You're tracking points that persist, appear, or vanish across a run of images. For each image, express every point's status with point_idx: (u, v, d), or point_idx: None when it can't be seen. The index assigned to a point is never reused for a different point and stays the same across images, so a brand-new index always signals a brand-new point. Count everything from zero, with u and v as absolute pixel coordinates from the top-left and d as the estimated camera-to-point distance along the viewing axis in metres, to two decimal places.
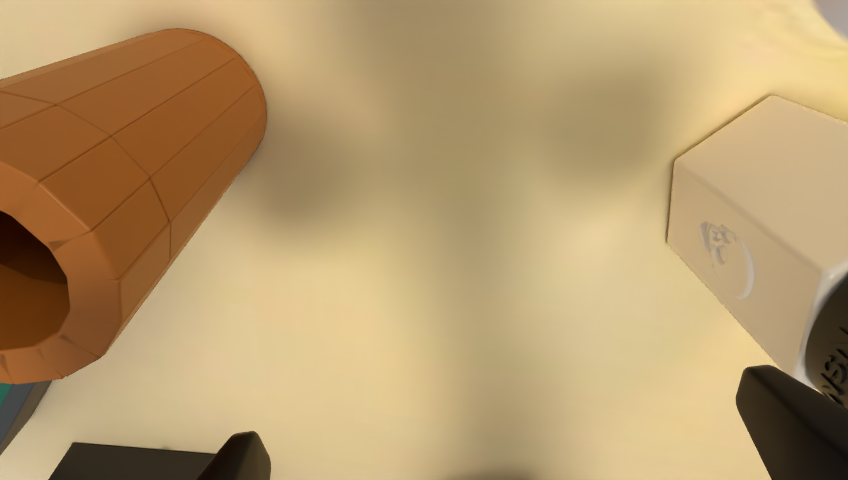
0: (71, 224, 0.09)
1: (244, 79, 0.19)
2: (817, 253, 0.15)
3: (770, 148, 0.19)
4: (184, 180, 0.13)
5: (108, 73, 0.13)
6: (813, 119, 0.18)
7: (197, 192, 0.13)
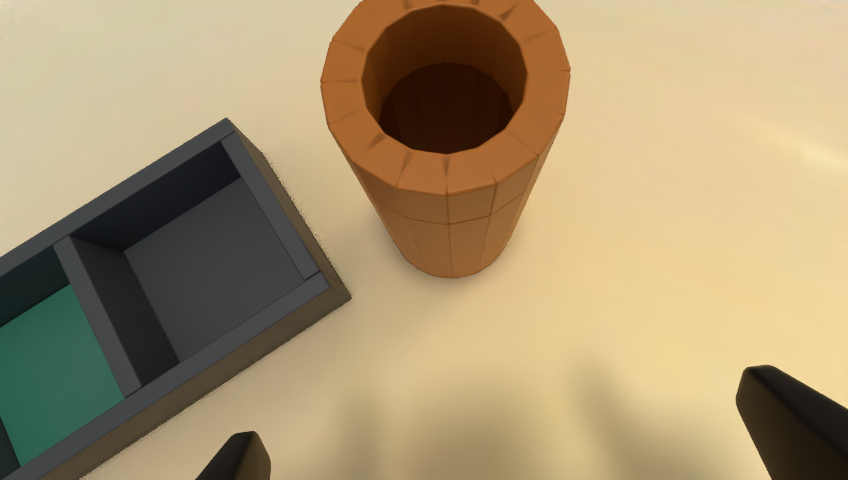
0: (560, 60, 0.11)
1: None
2: None
3: None
4: None
5: None
6: None
7: None
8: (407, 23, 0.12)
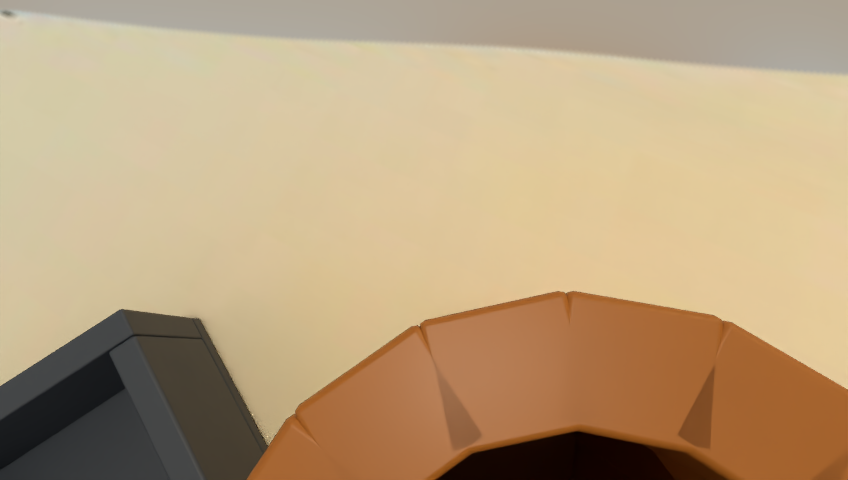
0: None
1: None
2: None
3: None
4: None
5: None
6: None
7: None
8: (454, 446, 0.04)
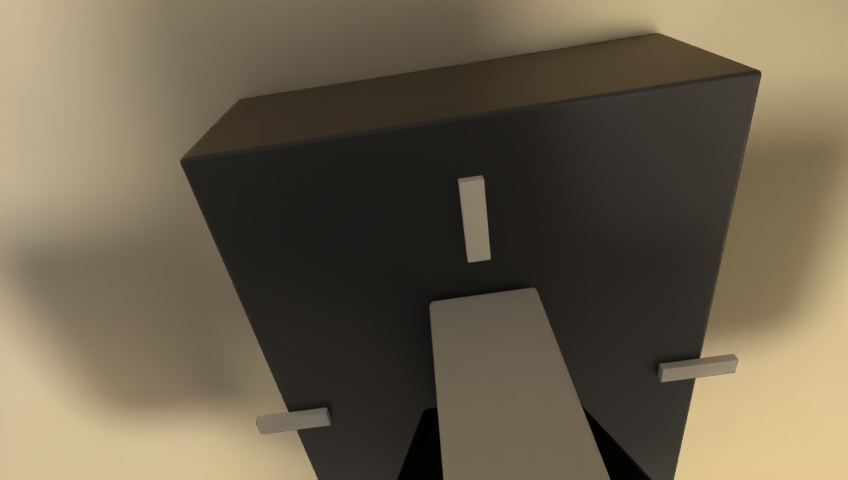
0: None
1: None
2: None
3: None
4: None
5: None
6: None
7: None
8: None
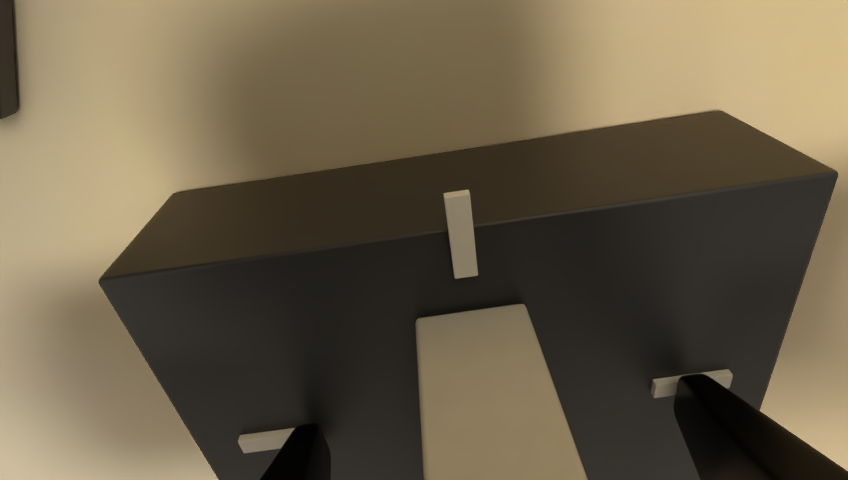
0: None
1: None
2: None
3: None
4: None
5: None
6: None
7: None
8: None
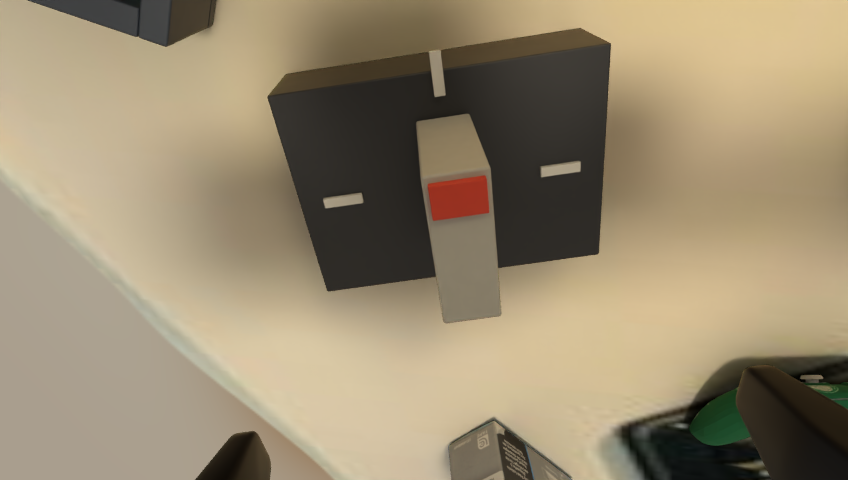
0: None
1: None
2: None
3: None
4: None
5: None
6: None
7: None
8: None
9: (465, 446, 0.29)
